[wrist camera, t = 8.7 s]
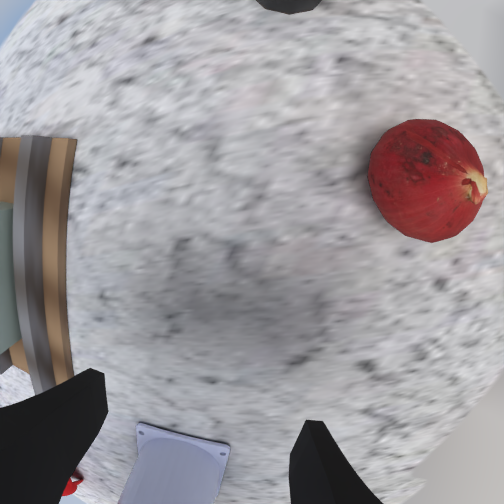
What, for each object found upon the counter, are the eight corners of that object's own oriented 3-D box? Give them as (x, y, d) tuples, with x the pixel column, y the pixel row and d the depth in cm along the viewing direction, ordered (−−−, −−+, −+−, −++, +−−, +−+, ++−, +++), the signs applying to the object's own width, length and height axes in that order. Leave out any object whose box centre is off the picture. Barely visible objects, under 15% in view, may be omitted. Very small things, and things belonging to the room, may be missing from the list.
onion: (331, 189, 16) (384, 196, 9) (382, 111, 15) (455, 70, 7) (405, 246, 17) (483, 290, 9) (450, 172, 16) (539, 175, 8)
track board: (76, 388, 21) (59, 408, 18) (1, 350, 21) (-16, 363, 18) (77, 139, 16) (49, 135, 13) (-6, 138, 16) (-31, 137, 13)
